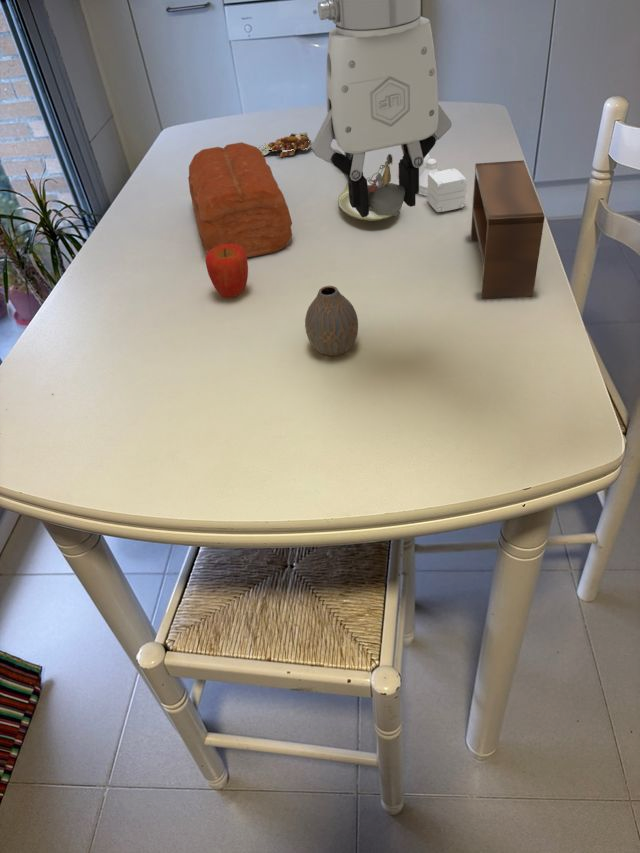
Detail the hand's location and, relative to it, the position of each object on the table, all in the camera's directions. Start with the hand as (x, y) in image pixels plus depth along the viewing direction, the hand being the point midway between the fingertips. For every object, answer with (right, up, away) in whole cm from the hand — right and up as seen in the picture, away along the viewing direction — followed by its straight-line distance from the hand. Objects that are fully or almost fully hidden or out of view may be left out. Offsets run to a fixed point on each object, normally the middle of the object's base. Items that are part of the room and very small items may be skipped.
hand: (384, 204), depth 69 cm
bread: (-21, +13, +47) cm, 53 cm away
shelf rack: (+20, +1, +29) cm, 35 cm away
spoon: (0, +21, +53) cm, 57 cm away
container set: (+14, +20, +50) cm, 55 cm away
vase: (-5, -13, +18) cm, 23 cm away
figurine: (0, -1, +1) cm, 1 cm away
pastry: (-15, +36, +71) cm, 80 cm away
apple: (-20, -3, +30) cm, 37 cm away
